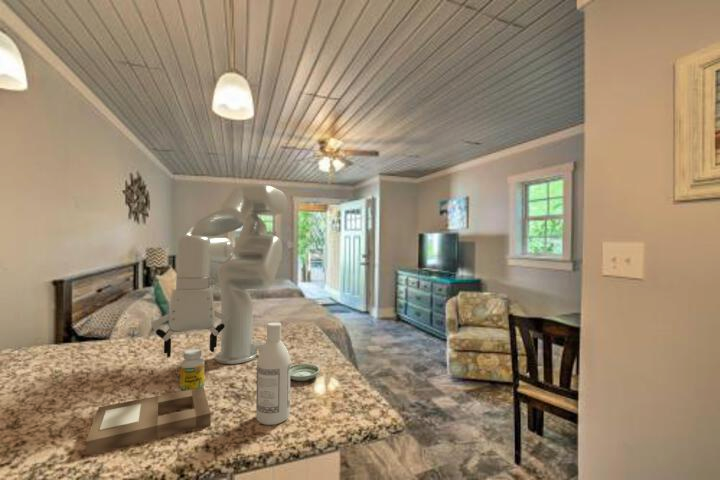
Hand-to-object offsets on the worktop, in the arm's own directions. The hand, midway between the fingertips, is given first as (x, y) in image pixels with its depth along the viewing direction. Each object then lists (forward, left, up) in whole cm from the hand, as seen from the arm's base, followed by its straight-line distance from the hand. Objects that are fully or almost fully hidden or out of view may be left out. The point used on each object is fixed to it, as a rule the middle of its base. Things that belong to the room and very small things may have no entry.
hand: (190, 353), depth 84 cm
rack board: (+7, +12, -10) cm, 17 cm away
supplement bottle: (-1, -1, -10) cm, 10 cm away
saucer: (-28, +5, -10) cm, 30 cm away
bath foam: (-15, +22, -10) cm, 28 cm away
